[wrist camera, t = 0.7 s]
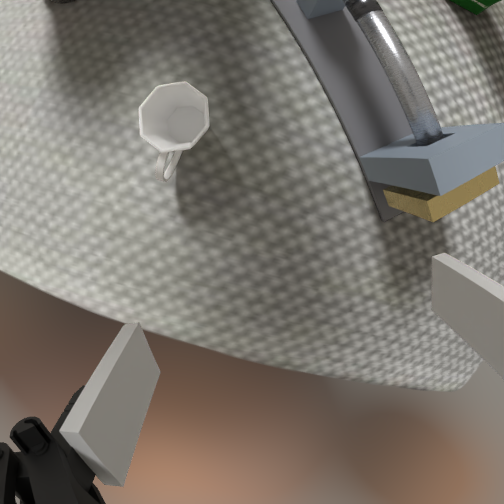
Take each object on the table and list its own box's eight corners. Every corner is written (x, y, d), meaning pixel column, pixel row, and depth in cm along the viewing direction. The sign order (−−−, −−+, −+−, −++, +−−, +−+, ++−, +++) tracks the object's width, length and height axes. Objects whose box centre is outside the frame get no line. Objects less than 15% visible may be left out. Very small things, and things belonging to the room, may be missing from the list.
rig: (260, -15, 28) (269, -94, 13) (327, -32, 27) (363, -102, 12) (381, 220, 37) (455, 258, 22) (440, 190, 36) (524, 211, 21)
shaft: (324, -16, 22) (331, -31, 19) (348, -21, 22) (357, -35, 19) (432, 208, 29) (449, 213, 26) (453, 197, 29) (470, 201, 26)
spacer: (382, 189, 33) (426, 201, 24) (443, 159, 32) (494, 164, 23) (388, 205, 33) (433, 222, 24) (448, 175, 32) (499, 183, 23)
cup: (226, 105, 33) (222, 90, 25) (199, 187, 36) (187, 194, 28) (169, 90, 32) (150, 73, 25) (143, 171, 35) (118, 174, 27)
